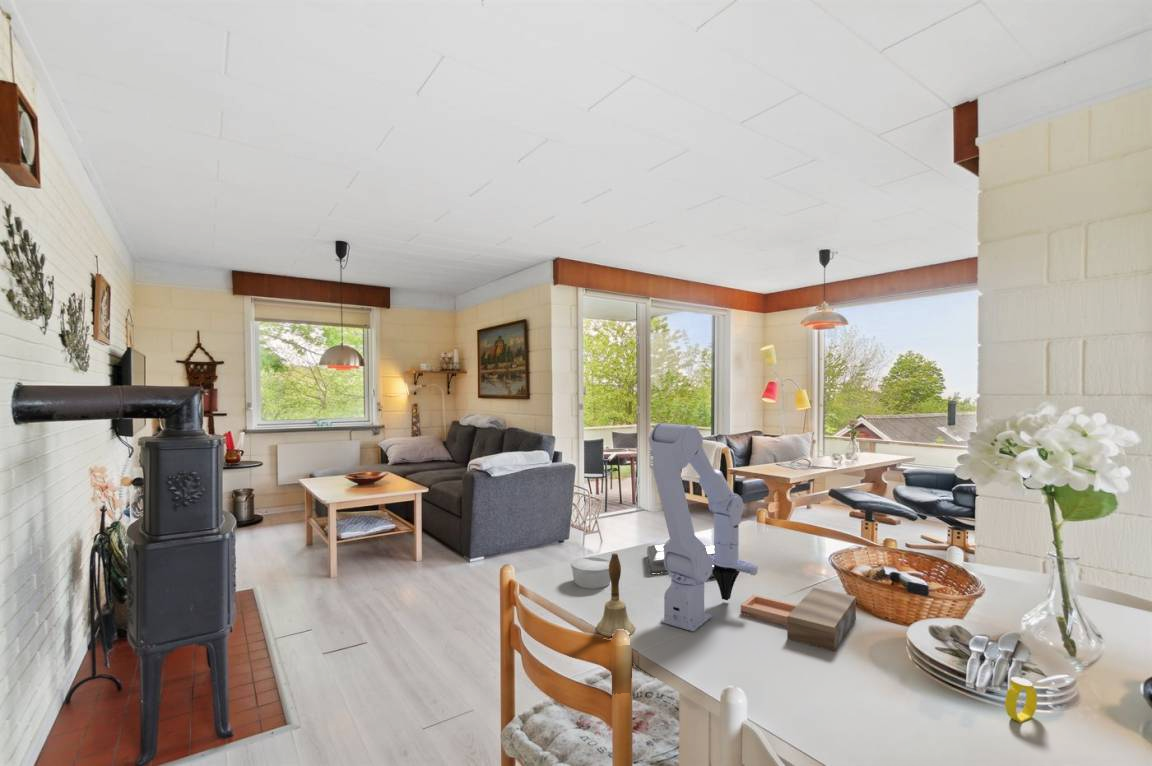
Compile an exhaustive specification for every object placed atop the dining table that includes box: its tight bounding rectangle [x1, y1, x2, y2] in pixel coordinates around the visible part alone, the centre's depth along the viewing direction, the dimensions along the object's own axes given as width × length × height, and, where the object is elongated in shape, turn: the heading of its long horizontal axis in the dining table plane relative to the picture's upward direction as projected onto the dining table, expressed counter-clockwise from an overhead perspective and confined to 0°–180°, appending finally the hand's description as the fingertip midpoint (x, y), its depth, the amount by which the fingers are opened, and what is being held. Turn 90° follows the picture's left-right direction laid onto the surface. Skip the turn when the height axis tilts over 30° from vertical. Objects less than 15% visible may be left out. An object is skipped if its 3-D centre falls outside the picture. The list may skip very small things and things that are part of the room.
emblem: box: [646, 543, 715, 579], centre depth 160 cm, size 28×5×28 cm
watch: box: [1004, 676, 1038, 724], centre depth 87 cm, size 6×3×6 cm, turn 114°
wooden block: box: [786, 587, 857, 652], centre depth 119 cm, size 20×9×5 cm, turn 142°
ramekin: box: [570, 556, 611, 590], centre depth 146 cm, size 11×11×5 cm
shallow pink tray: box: [740, 594, 798, 627], centre depth 126 cm, size 8×12×2 cm, turn 52°
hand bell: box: [595, 553, 636, 638], centre depth 118 cm, size 8×8×16 cm
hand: (726, 598), depth 132 cm, fingers closed
